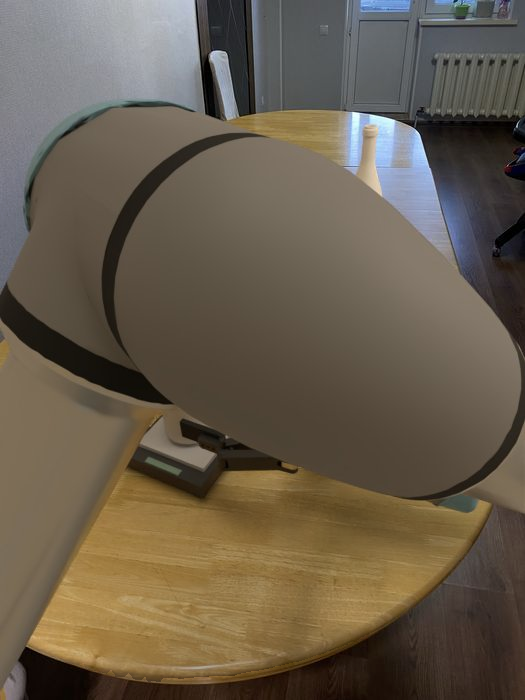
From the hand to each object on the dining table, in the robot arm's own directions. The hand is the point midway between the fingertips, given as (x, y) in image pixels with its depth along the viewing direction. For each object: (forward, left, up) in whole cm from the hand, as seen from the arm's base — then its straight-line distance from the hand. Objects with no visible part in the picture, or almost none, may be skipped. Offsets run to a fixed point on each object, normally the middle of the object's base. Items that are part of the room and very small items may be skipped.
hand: (209, 396), depth 73 cm
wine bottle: (+85, +6, -12) cm, 86 cm away
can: (0, +5, -9) cm, 10 cm away
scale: (0, +5, -12) cm, 13 cm away
